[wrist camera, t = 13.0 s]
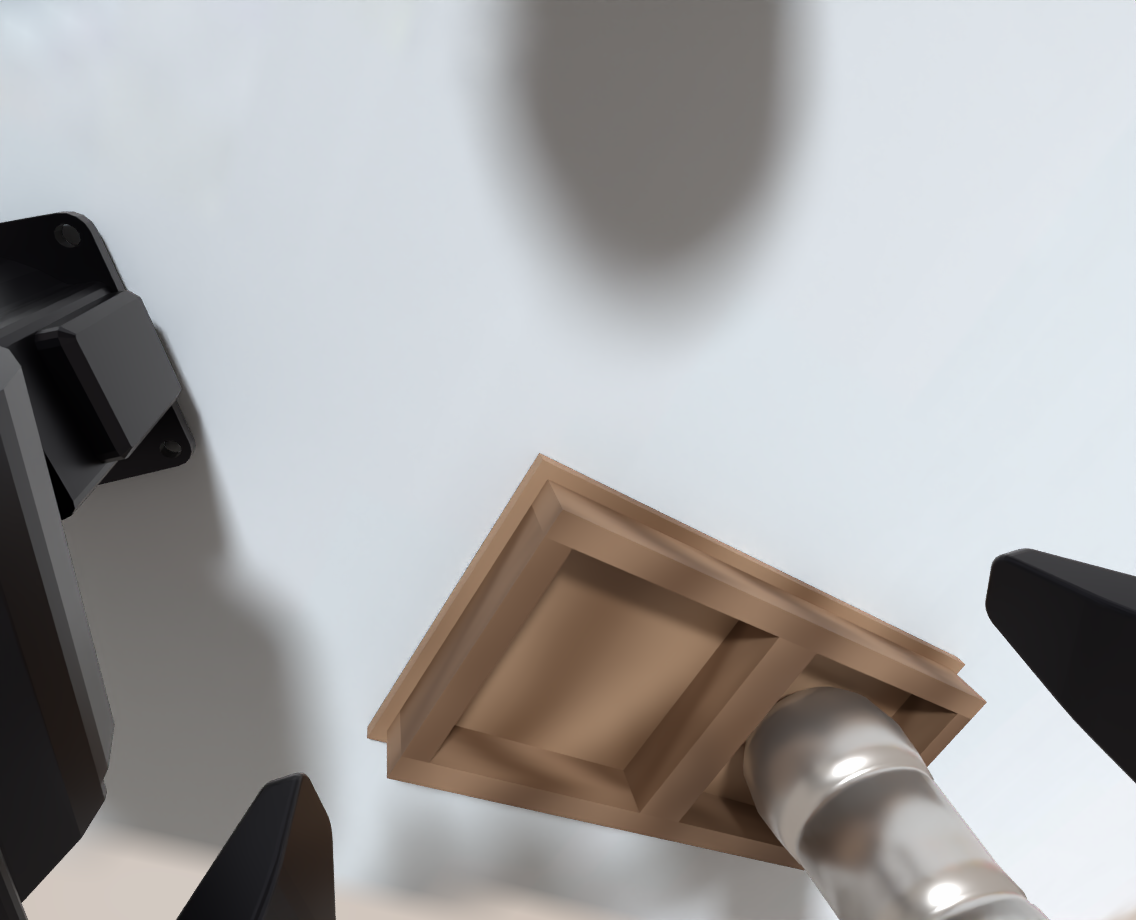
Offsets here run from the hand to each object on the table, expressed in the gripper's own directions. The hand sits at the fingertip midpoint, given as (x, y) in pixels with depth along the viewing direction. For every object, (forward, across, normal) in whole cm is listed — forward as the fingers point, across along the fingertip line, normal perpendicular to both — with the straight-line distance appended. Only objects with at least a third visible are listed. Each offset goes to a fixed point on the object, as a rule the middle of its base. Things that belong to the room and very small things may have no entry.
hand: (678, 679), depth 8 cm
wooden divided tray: (+13, -5, +15) cm, 20 cm away
